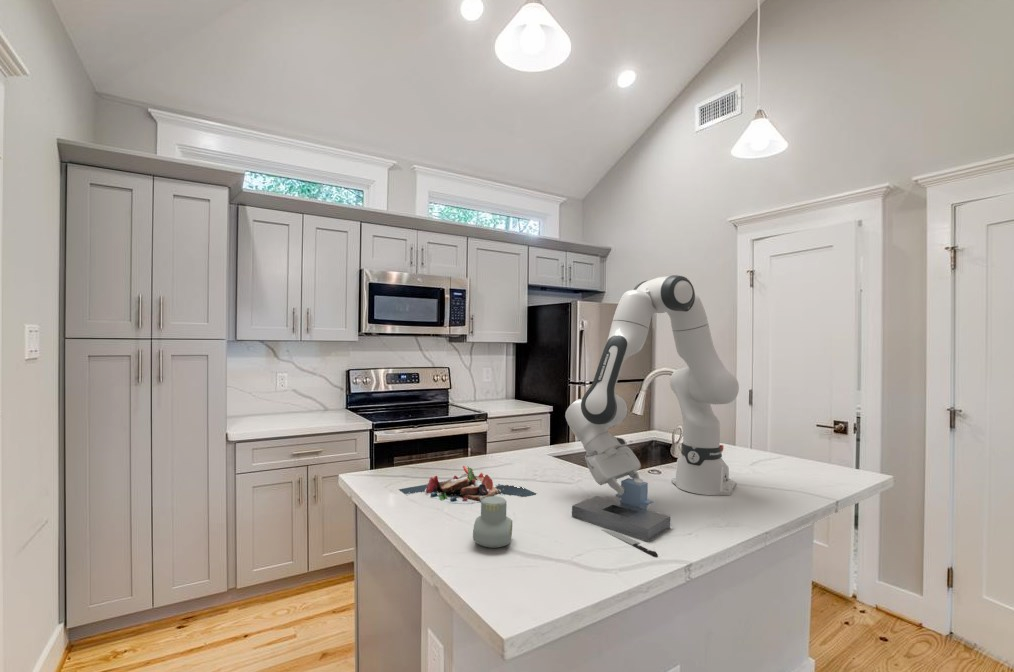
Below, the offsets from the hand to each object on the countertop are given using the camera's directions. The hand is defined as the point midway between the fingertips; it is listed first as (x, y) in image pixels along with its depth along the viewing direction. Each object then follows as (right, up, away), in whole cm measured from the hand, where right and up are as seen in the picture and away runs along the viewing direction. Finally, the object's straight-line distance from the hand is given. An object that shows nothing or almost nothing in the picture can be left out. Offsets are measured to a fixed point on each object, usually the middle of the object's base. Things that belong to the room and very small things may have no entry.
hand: (631, 490), depth 140 cm
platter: (-47, -5, +12) cm, 49 cm away
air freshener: (-38, -5, -24) cm, 46 cm away
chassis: (-6, -5, -10) cm, 12 cm away
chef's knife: (-6, -6, -21) cm, 23 cm away
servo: (0, -5, 0) cm, 6 cm away
